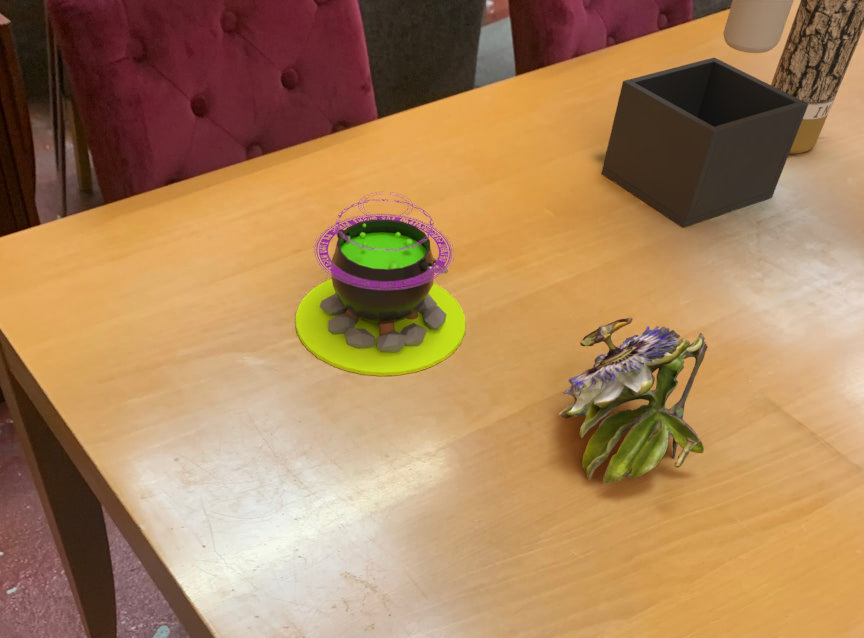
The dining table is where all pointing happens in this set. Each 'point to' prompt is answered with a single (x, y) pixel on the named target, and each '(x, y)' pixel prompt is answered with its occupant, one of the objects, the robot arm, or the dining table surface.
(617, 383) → the passion flower
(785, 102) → the bin
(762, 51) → the beverage can
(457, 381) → the dining table surface
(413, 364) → the toy cauldron
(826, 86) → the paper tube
